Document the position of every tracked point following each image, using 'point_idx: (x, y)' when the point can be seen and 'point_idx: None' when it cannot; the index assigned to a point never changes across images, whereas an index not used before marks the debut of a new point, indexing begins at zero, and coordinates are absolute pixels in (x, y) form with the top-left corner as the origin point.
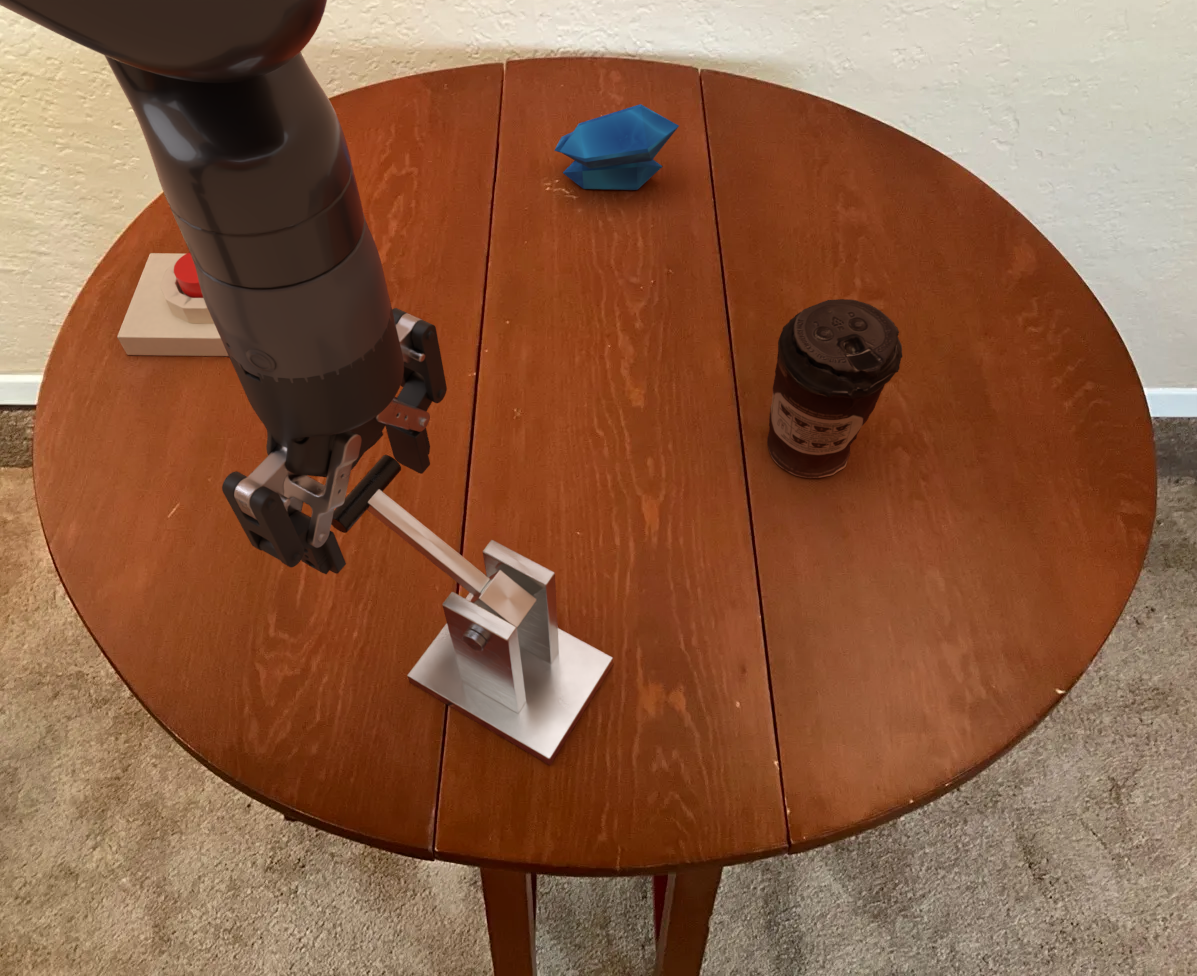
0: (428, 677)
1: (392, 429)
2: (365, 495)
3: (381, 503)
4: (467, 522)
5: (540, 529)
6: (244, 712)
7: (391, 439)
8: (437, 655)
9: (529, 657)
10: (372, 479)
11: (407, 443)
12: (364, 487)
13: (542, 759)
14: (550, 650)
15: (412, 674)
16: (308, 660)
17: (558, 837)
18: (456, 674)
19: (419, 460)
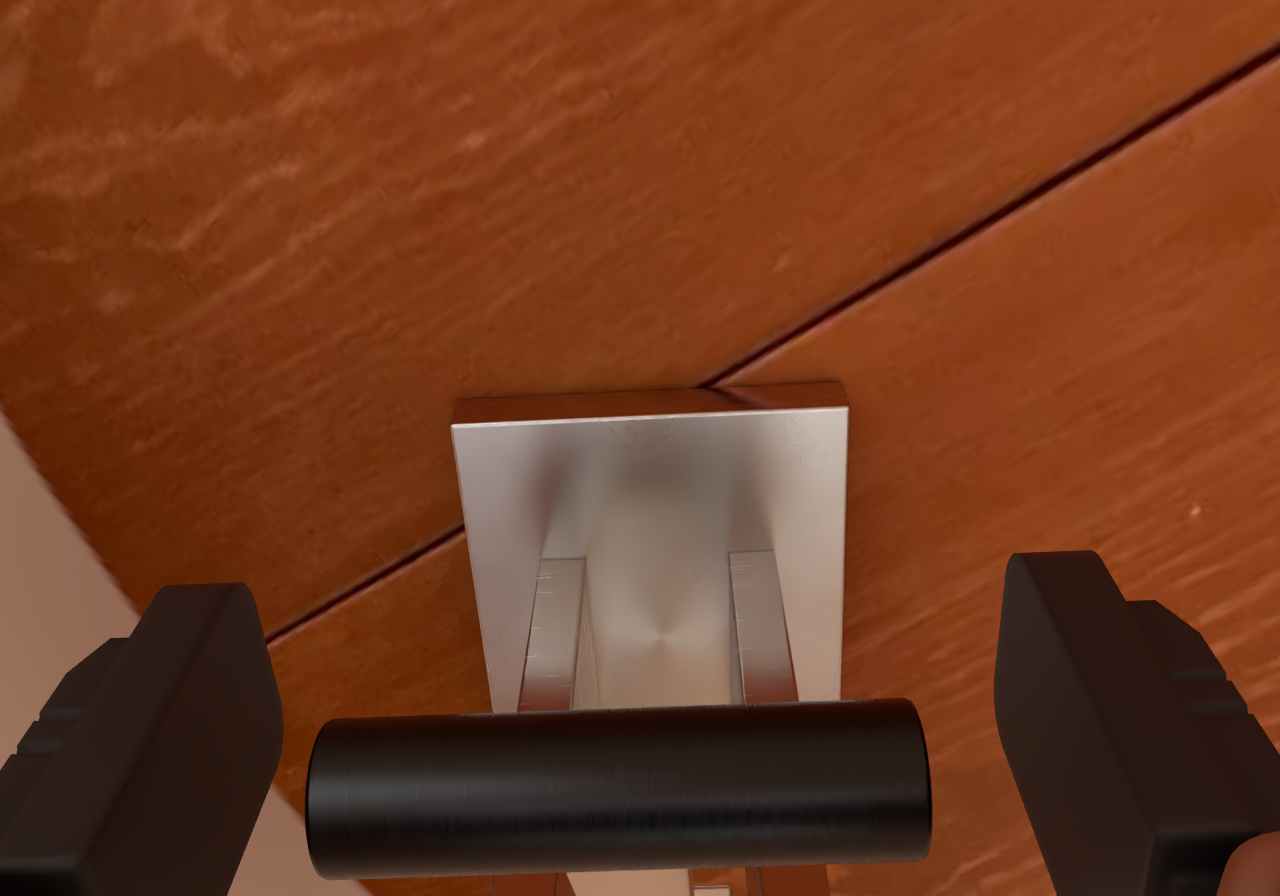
0: (486, 480)
1: (1129, 857)
2: (579, 869)
3: (621, 878)
4: (1079, 181)
5: (1159, 409)
6: (7, 15)
7: (1085, 705)
8: (561, 459)
9: (714, 660)
10: (702, 850)
11: (1081, 874)
12: (616, 859)
13: None
14: None
15: (462, 437)
16: (293, 68)
17: None
18: (545, 539)
19: (1033, 810)
